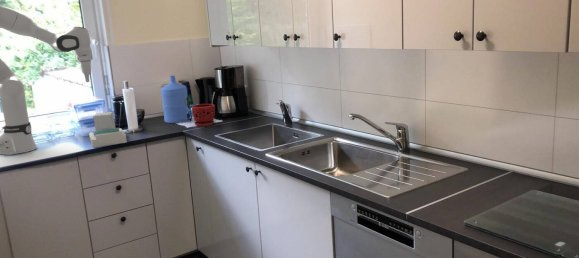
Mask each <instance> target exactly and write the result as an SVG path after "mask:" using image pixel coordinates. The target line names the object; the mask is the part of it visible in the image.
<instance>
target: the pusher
mask: <svg viewBox="0 0 579 258" xmlns="http://www.w3.org/2000/svg"><path fill="white" fill-rule="evenodd" d="M112 132H119V127H115V128H114V129H107V130H100V131H96V130H95V132H94V135H99V134H105V133H112Z"/></svg>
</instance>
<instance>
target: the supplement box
mask: <svg viewBox="0 0 579 258" xmlns="http://www.w3.org/2000/svg"><path fill="white" fill-rule="evenodd" d="M93 122H94V129H95V131H100V130H107V129H114V128H116V123H115V122H116V121H115V117H114V111H107V112H96V113H95V114H94V115H93Z"/></svg>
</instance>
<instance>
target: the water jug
mask: <svg viewBox="0 0 579 258" xmlns="http://www.w3.org/2000/svg"><path fill="white" fill-rule="evenodd" d="M169 80H170V82H169V83H168V84H166V85H165V86H163V87H161V88H160V93H161V94H160V95H161V99H162V109H163V117H164V118H163V121H164V122H165V123H167V124H179V122H181V123H185V122H188V121H187V112H188V110H189V111H190V109H189V107H188V106H187V101H186V100H187V98H188V89H187V86H186V85H185V84H181V83H179V82H177V81H176V75H169Z"/></svg>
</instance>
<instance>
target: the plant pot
mask: <svg viewBox="0 0 579 258" xmlns="http://www.w3.org/2000/svg"><path fill="white" fill-rule="evenodd" d="M215 110H216V107H215V104H213V103H200V104H195V105H192V106H191V113H192V117H193V120H194V121H195V122H194V125H195V126H196V127H201V128H202V127H203V128H205V127H209V126H213V125H214V124H215V120H214V119H215V115H216V114H215V113H216V111H215Z"/></svg>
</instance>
